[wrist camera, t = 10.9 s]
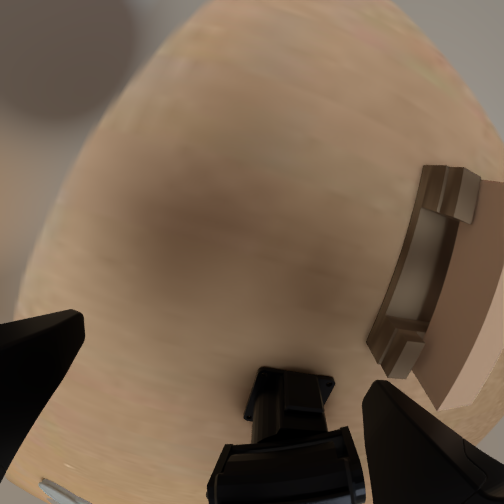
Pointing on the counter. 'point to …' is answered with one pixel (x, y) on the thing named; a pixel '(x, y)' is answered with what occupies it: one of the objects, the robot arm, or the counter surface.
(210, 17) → the counter surface
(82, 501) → the lid
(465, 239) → the clay bar
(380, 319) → the bracket
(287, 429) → the robot arm
